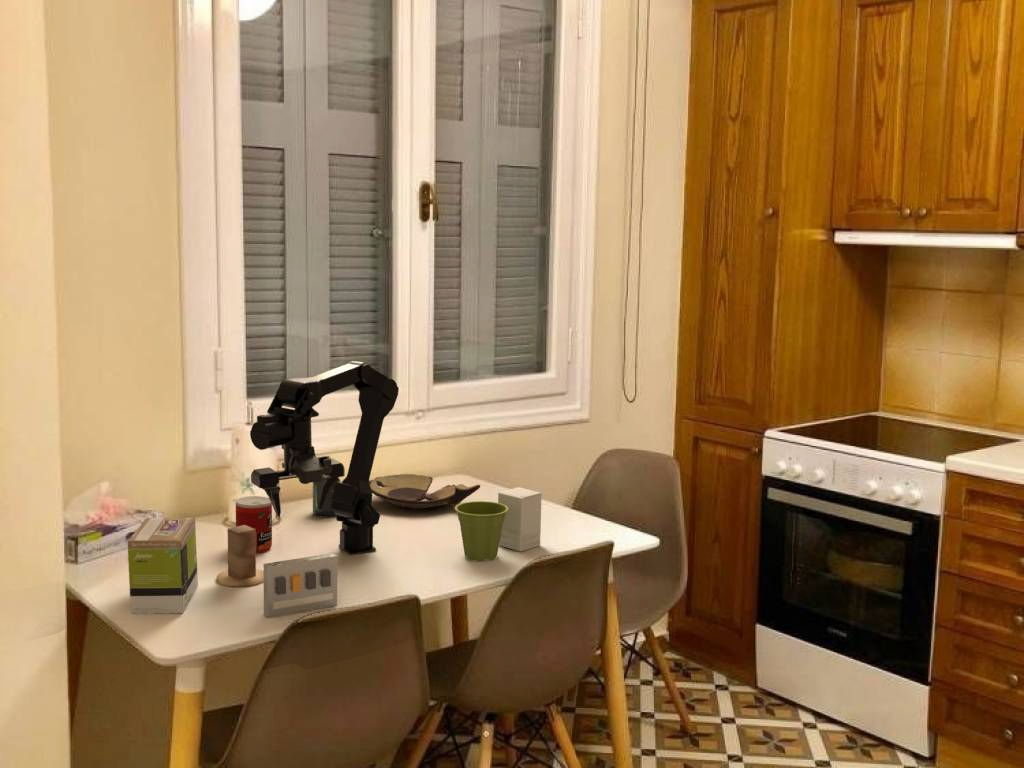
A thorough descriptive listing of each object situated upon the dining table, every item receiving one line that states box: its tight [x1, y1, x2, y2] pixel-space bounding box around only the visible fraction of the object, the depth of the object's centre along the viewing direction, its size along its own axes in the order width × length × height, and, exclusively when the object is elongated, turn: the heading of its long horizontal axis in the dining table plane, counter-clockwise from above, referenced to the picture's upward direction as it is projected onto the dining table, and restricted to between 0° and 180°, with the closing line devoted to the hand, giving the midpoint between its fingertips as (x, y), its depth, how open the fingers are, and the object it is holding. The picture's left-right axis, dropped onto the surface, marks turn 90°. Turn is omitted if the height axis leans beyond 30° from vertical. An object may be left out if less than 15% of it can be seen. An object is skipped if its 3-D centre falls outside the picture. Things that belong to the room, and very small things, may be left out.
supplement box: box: [497, 486, 543, 552], centre depth 257 cm, size 7×7×13 cm
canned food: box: [235, 495, 273, 554], centre depth 250 cm, size 8×8×11 cm
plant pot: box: [454, 500, 509, 562], centre depth 249 cm, size 12×12×11 cm
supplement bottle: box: [312, 478, 342, 518], centre depth 278 cm, size 7×7×12 cm
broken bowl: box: [369, 473, 481, 509], centre depth 287 cm, size 22×30×8 cm
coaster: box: [216, 568, 264, 588], centre depth 231 cm, size 10×10×1 cm
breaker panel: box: [263, 552, 338, 619], centre depth 213 cm, size 14×3×10 cm, turn 122°
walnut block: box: [227, 525, 257, 581], centre depth 230 cm, size 4×4×10 cm
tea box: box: [127, 516, 199, 615], centre depth 216 cm, size 15×10×15 cm, turn 5°
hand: (299, 512), depth 236 cm, fingers open, 9 cm apart
